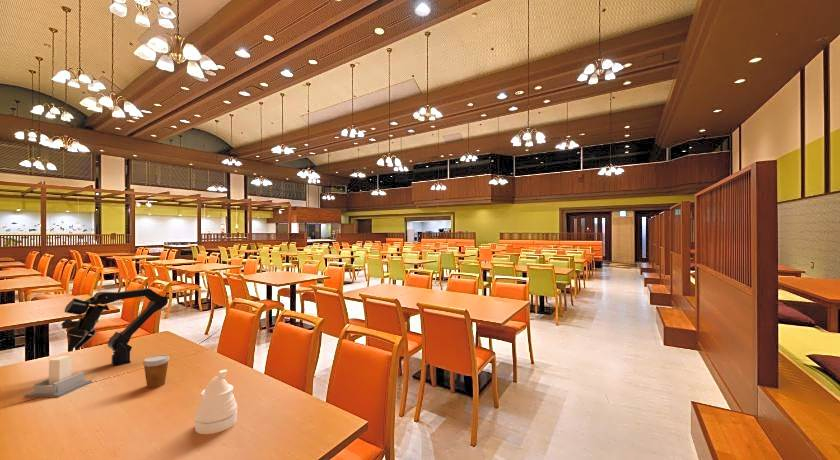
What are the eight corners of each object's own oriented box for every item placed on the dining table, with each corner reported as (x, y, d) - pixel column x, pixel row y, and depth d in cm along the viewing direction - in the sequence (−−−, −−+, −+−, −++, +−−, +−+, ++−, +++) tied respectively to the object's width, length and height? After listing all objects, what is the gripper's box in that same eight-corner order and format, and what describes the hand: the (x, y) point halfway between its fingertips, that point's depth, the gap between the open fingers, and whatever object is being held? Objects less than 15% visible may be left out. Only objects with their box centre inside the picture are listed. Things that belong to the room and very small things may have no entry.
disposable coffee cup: (174, 380, 156) (175, 354, 156) (156, 390, 146) (157, 362, 146) (155, 379, 157) (155, 353, 157) (136, 389, 147) (136, 361, 147)
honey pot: (228, 410, 130) (229, 363, 130) (243, 422, 122) (243, 371, 122) (189, 424, 120) (190, 373, 120) (202, 438, 112) (203, 383, 112)
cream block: (61, 384, 149) (61, 355, 149) (71, 384, 149) (71, 355, 149) (48, 389, 144) (49, 359, 144) (59, 389, 144) (59, 360, 144)
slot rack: (61, 382, 154) (61, 371, 154) (91, 382, 154) (92, 371, 154) (24, 396, 140) (25, 384, 140) (58, 397, 140) (59, 384, 140)
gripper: (77, 313, 171) (58, 345, 166) (63, 312, 156) (42, 347, 150) (104, 318, 176) (87, 350, 170) (93, 318, 160) (73, 353, 154)
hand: (72, 350), depth 161 cm, fingers open, 9 cm apart
